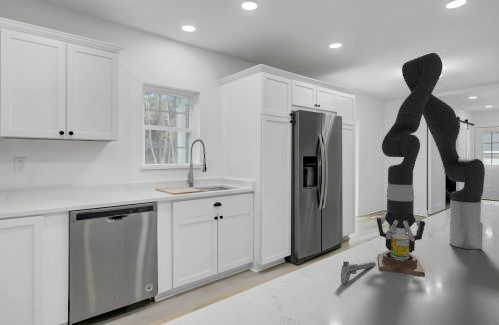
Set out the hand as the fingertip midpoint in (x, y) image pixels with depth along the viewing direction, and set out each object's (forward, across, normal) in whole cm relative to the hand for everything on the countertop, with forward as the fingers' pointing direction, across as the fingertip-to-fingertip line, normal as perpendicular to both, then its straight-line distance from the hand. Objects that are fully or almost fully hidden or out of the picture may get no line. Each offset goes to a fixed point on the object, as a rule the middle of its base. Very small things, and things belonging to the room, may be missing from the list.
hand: (399, 250), depth 92 cm
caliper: (+5, +12, +11) cm, 17 cm away
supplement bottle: (+2, 0, 0) cm, 2 cm away
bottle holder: (+5, 0, 0) cm, 5 cm away
